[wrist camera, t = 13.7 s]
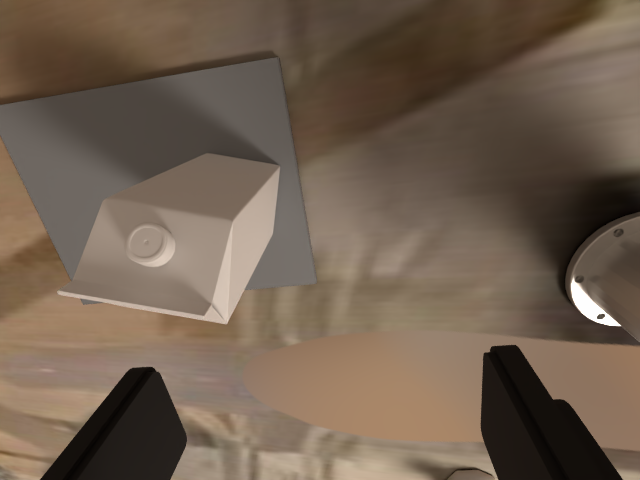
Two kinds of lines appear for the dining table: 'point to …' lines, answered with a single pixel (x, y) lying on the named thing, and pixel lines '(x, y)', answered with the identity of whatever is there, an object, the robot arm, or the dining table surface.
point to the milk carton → (181, 239)
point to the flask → (470, 475)
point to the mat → (159, 152)
